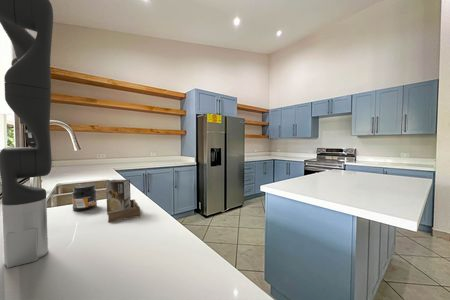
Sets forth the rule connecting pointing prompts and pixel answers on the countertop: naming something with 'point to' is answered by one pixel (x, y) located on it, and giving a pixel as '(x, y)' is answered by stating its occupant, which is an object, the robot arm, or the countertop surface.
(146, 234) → the countertop surface
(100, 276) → the countertop surface
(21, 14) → the robot arm
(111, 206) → the coffee box
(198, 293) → the countertop surface
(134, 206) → the walnut pen
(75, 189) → the supplement container
